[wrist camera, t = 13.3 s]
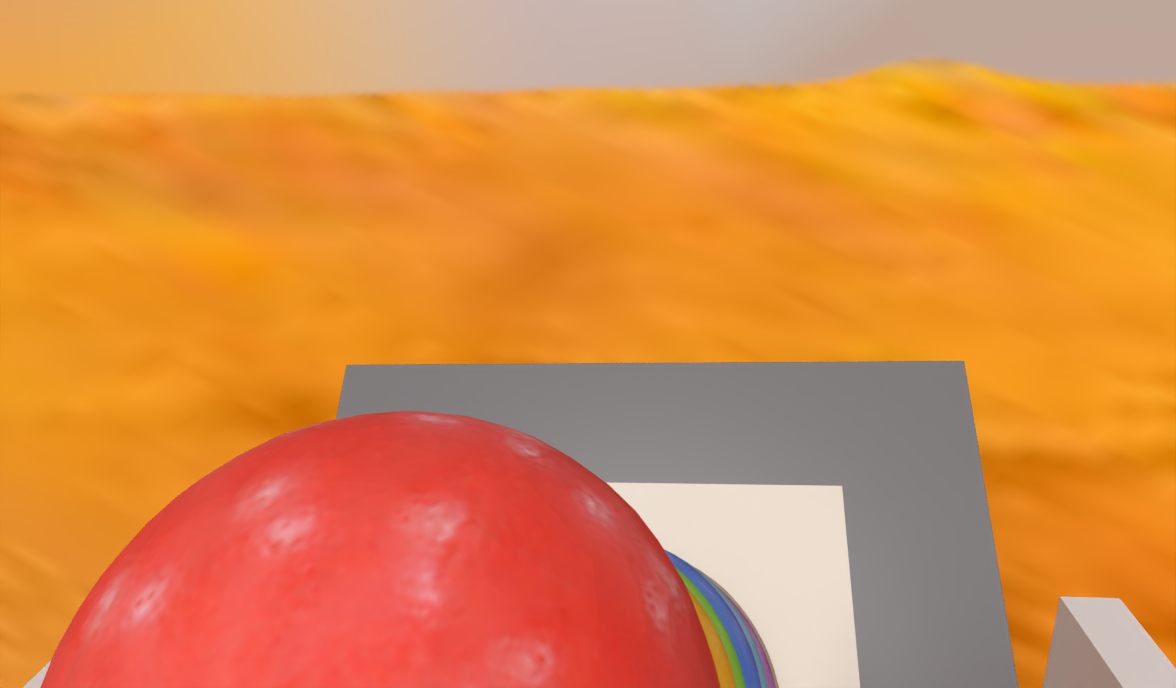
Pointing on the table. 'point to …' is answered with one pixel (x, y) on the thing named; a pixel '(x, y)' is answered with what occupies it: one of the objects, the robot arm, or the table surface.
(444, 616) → the stacking toy
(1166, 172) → the table surface
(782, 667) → the plate
